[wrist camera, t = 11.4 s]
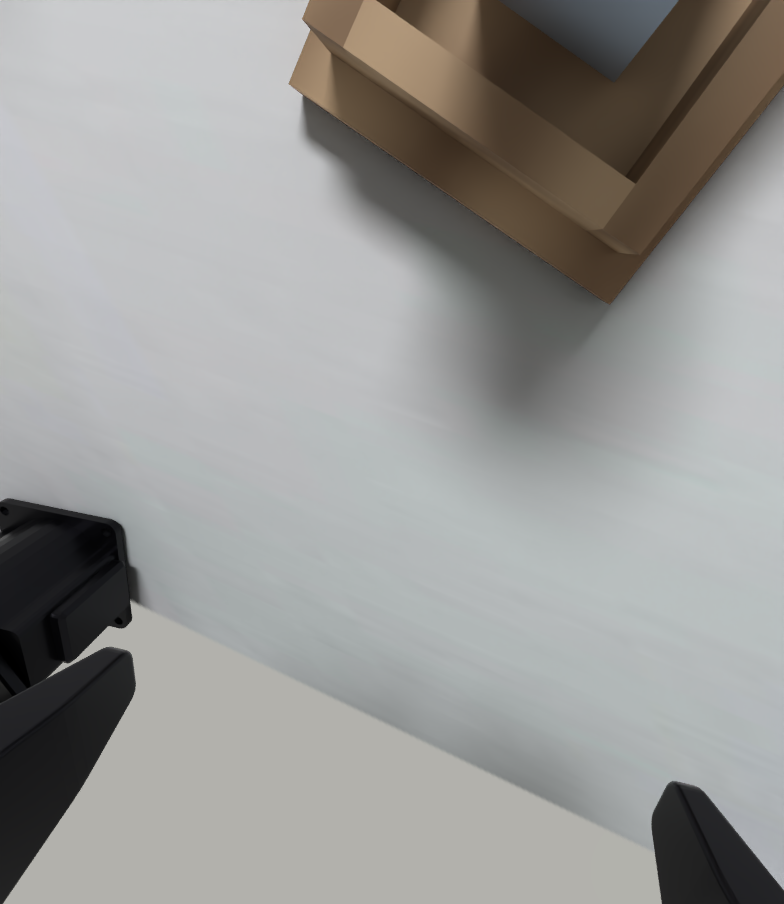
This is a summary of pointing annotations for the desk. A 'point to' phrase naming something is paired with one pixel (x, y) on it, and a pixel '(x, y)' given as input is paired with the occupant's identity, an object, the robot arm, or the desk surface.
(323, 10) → the tray
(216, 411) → the desk surface
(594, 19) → the box
